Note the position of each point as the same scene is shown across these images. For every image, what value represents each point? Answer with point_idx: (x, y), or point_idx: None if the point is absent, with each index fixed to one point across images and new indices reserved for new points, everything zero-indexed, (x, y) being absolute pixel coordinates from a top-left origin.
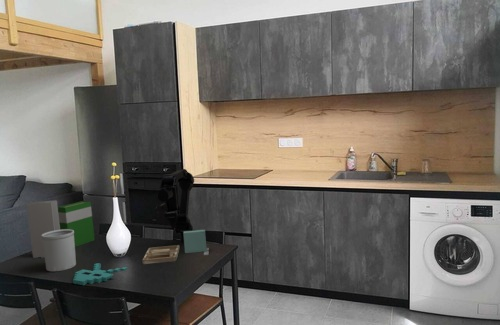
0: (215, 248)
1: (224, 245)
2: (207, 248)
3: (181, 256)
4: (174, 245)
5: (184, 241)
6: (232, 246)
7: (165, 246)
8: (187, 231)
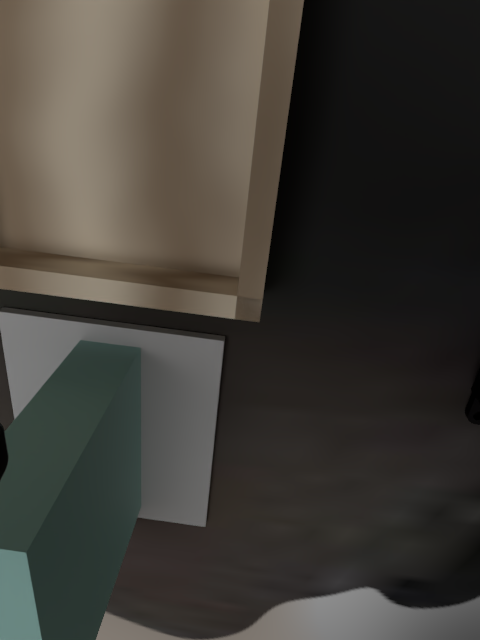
0: (193, 555)
1: (245, 608)
2: (187, 516)
3: (44, 297)
4: (266, 262)
5: (8, 432)
6: (197, 636)
7: (274, 124)
8: (15, 594)
